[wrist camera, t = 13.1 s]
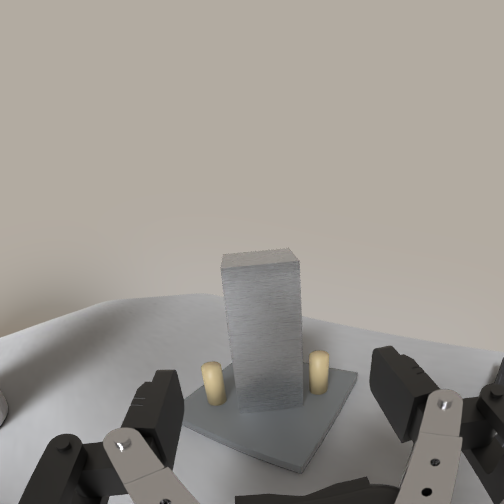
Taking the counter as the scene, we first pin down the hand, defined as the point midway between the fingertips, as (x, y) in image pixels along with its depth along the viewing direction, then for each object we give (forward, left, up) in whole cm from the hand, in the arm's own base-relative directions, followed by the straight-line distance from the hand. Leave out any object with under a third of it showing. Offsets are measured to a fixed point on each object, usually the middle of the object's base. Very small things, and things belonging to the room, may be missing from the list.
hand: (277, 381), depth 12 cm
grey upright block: (-6, +9, -10) cm, 15 cm away
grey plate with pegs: (-6, +9, -10) cm, 15 cm away
